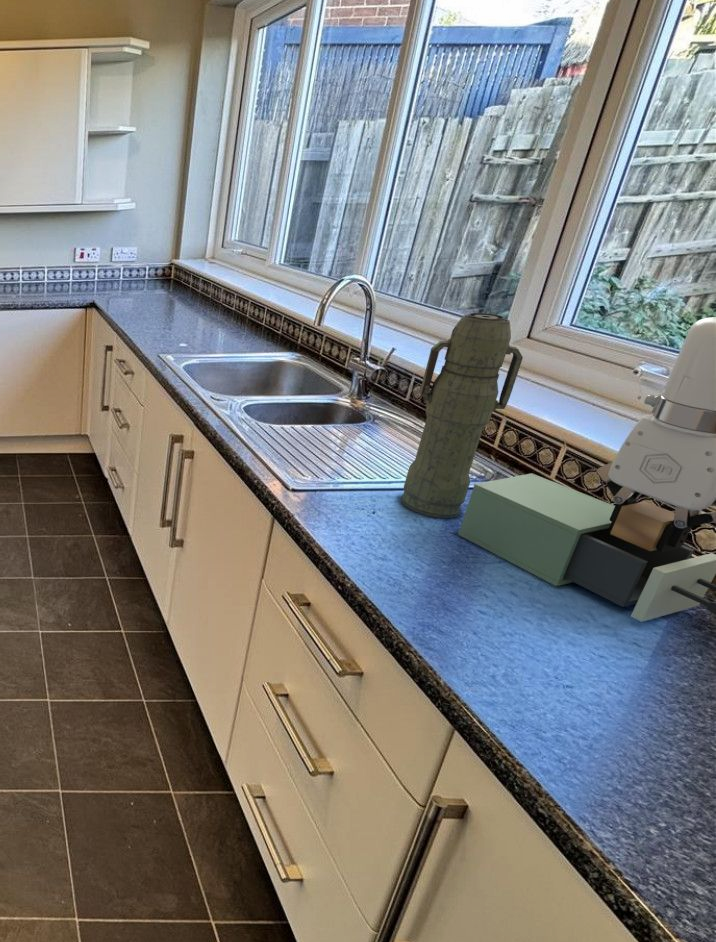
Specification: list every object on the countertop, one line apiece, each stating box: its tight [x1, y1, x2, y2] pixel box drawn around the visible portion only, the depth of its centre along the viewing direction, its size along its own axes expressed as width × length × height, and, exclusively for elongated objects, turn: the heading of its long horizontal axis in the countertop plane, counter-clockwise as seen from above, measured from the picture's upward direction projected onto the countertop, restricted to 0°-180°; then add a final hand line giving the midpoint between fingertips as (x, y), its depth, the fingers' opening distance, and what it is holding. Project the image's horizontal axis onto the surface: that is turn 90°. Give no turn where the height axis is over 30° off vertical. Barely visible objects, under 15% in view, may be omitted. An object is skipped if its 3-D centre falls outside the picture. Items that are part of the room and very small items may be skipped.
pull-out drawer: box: [564, 528, 716, 623], centre depth 85 cm, size 18×11×8 cm, turn 16°
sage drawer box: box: [457, 472, 615, 587], centre depth 96 cm, size 15×13×10 cm
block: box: [610, 500, 675, 551], centre depth 84 cm, size 4×4×4 cm
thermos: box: [400, 312, 524, 519], centre depth 105 cm, size 9×12×35 cm
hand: (642, 537), depth 85 cm, fingers closed on block, 4 cm apart
